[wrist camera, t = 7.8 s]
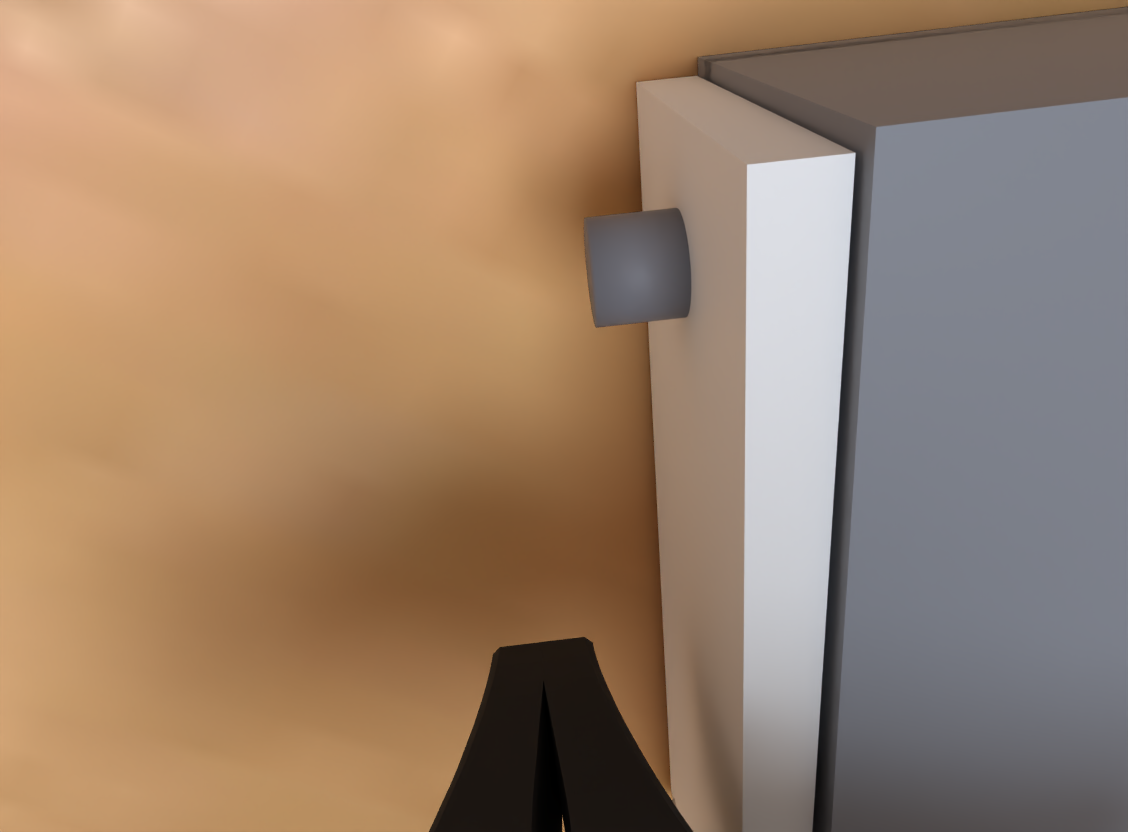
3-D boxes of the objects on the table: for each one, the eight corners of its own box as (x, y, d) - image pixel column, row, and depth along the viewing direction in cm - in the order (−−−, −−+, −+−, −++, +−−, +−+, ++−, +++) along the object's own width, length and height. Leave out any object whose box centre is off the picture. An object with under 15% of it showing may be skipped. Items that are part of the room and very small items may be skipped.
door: (623, 813, 18) (673, 1140, 13) (560, 90, 11) (610, 179, 6) (715, 802, 18) (799, 1123, 13) (704, 74, 11) (869, 151, 6)
